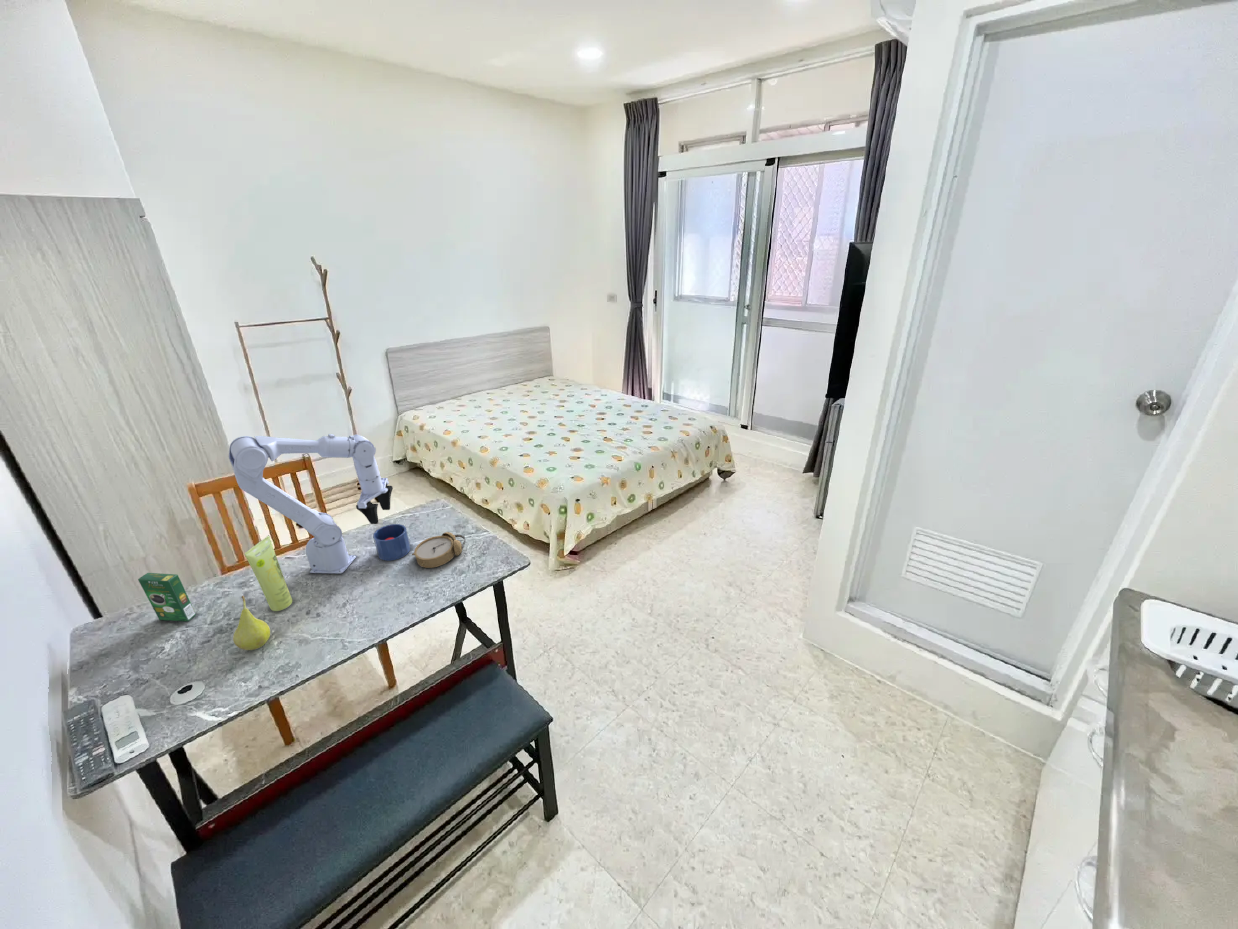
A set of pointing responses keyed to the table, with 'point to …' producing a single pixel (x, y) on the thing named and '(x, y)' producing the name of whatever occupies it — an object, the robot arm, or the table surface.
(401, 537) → the cup
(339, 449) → the robot arm
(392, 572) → the table surface
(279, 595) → the tube
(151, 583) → the coffee box
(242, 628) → the fruit
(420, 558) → the alarm clock
